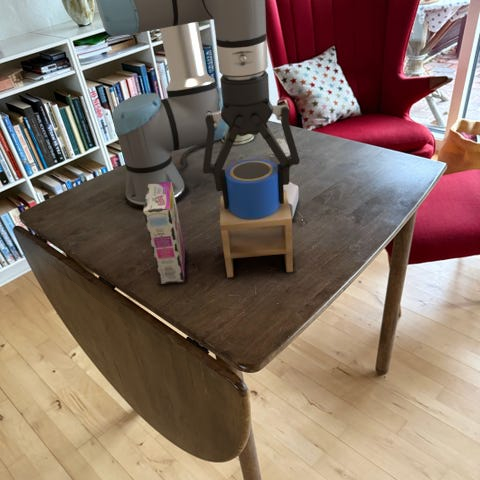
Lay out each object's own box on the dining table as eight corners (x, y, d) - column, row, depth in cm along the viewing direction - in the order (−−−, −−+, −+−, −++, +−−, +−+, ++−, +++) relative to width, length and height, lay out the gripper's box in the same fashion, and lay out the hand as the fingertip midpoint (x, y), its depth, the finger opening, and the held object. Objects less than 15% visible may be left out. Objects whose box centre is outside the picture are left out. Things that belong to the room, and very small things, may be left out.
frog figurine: (290, 159, 128) (289, 134, 123) (290, 170, 123) (290, 144, 118) (268, 160, 128) (267, 135, 124) (267, 172, 123) (266, 146, 118)
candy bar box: (186, 282, 91) (169, 208, 80) (161, 285, 91) (141, 212, 80) (186, 250, 99) (172, 180, 88) (163, 253, 99) (146, 183, 88)
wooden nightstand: (227, 246, 99) (220, 195, 91) (287, 240, 98) (285, 189, 90) (227, 277, 91) (220, 225, 83) (292, 271, 90) (291, 218, 82)
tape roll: (228, 195, 90) (224, 161, 85) (277, 191, 90) (276, 156, 85) (229, 221, 83) (224, 185, 78) (281, 216, 83) (280, 179, 78)
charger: (302, 189, 114) (292, 221, 104) (266, 188, 116) (253, 219, 106) (302, 171, 111) (292, 202, 101) (265, 171, 113) (251, 201, 103)
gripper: (170, 88, 69) (194, 218, 84) (319, 72, 68) (316, 207, 83) (174, 73, 74) (196, 198, 89) (312, 58, 73) (310, 187, 88)
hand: (253, 202), depth 86 cm, fingers closed on tape roll, 10 cm apart
